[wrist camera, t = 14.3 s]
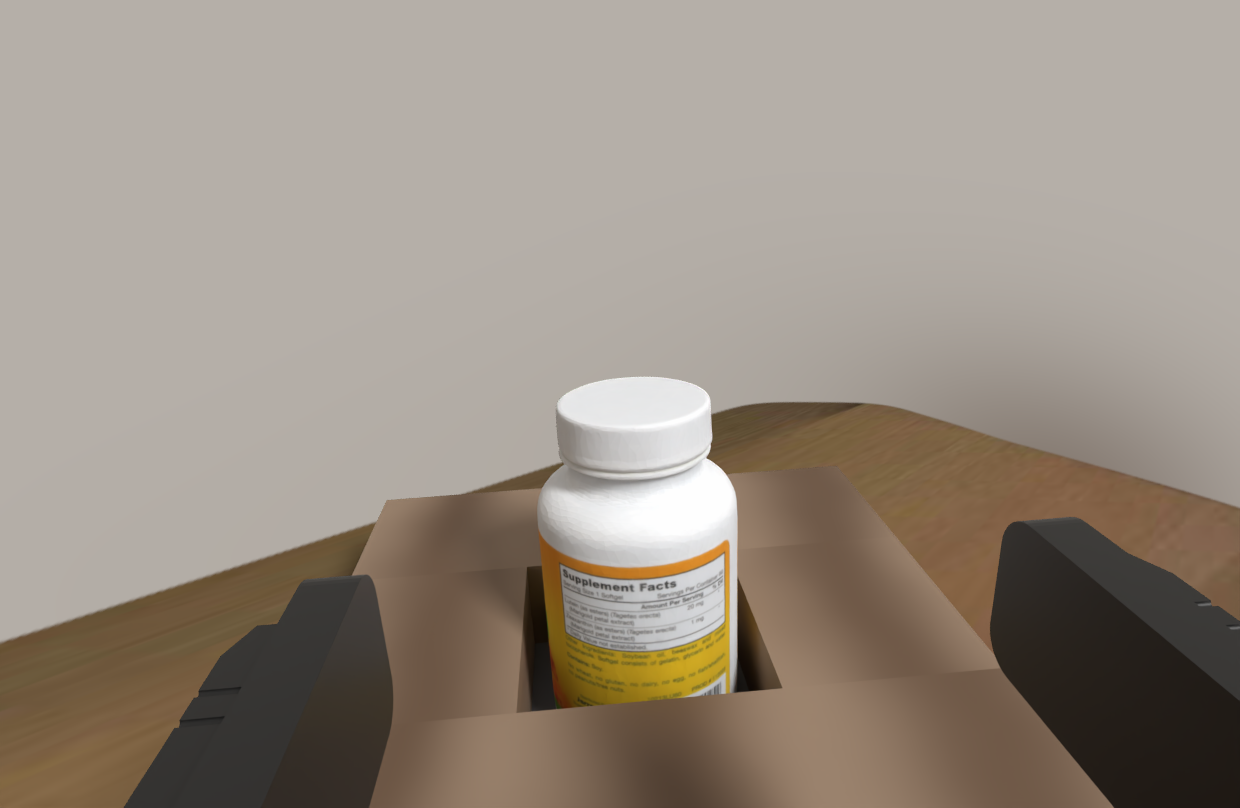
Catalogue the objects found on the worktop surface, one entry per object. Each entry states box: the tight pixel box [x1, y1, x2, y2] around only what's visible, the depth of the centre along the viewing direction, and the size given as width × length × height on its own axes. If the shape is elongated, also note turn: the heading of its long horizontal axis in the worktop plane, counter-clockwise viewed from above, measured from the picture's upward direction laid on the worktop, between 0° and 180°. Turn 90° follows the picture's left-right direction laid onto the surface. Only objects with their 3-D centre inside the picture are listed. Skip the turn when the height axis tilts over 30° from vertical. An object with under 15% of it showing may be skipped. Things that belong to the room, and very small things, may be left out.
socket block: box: [352, 466, 1114, 808], centre depth 22 cm, size 18×18×4 cm
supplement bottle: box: [537, 377, 738, 709], centre depth 21 cm, size 5×5×10 cm
